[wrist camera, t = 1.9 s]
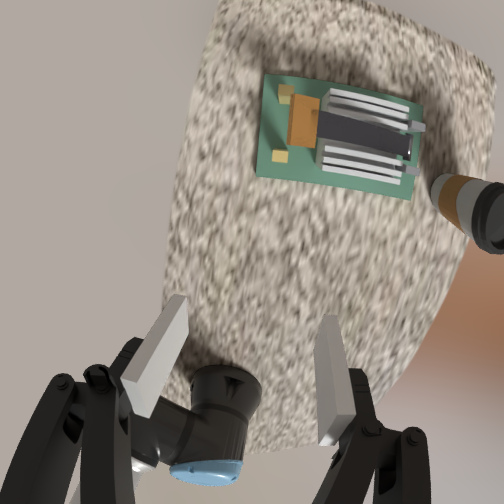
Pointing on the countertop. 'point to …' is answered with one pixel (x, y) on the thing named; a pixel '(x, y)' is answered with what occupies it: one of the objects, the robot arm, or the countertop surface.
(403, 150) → the strap
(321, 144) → the heatsink base
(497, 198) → the coffee cup
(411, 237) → the countertop surface
